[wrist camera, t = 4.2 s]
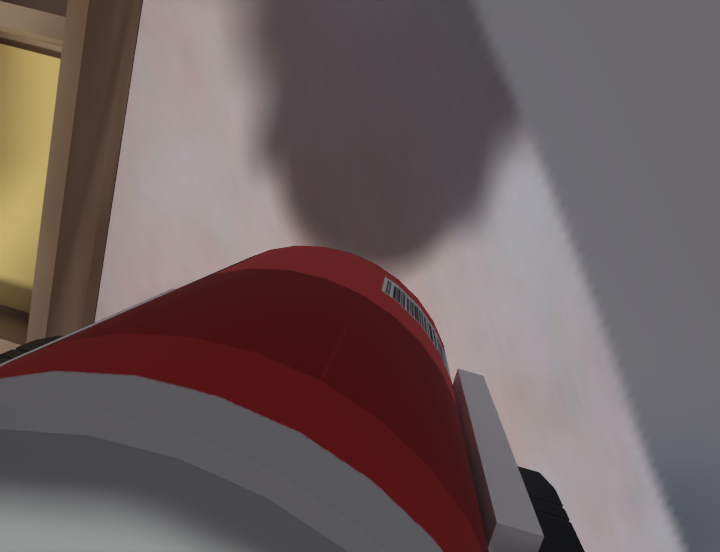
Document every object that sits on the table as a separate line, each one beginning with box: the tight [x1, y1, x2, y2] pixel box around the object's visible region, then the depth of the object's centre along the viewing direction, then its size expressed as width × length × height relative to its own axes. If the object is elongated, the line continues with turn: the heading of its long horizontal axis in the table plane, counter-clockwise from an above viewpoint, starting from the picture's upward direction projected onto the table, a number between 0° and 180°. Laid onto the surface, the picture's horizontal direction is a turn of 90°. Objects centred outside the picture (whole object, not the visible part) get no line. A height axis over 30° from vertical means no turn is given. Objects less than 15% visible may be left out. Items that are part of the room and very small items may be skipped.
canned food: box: [0, 246, 489, 552], centre depth 10 cm, size 8×8×11 cm
